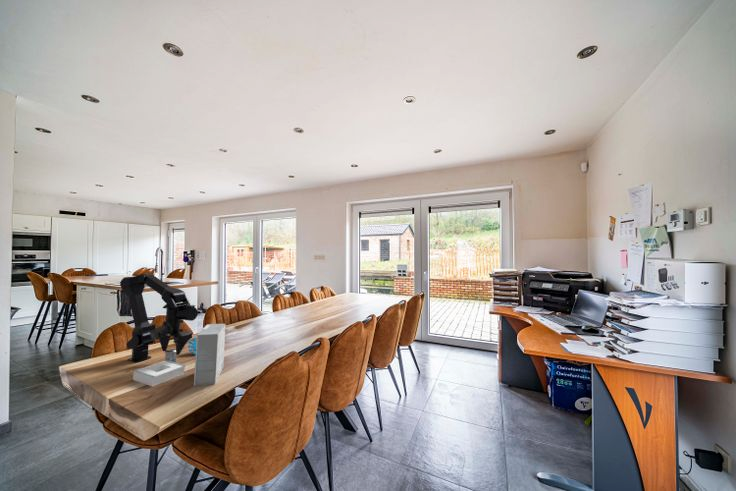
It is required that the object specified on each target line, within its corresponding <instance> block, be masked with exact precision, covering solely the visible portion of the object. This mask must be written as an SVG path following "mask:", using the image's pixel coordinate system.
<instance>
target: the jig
mask: <svg viewBox="0 0 736 491" xmlns="http://www.w3.org/2000/svg"><path fill="white" fill-rule="evenodd" d="M185 366H186V365H185V364H182V363H178V362H177V361H176V362H172V361H168V360H163V361H161V362H157V363H154V364H150V365H148V366H145V367H141V368H138V369H135V370H133V375H132V377H133V378H132V380H133V381H135V382H138V383H141V384H143V385H147V386H149V387H155V386H157V385H160V384H163V383H165V382H167V381H170V380H173V379H176V378H178V377H180V376H183V375H185V369H186V368H185Z"/></svg>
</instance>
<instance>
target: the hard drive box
mask: <svg viewBox="0 0 736 491" xmlns="http://www.w3.org/2000/svg"><path fill="white" fill-rule="evenodd" d="M225 340H226V323H209V324H206V325H205V326H204V327H203V328H202V329H201V330H200V331H199V332H198V333H197V335H196V341H197V343H196V354H195V362H194V363H195V364H194V365H195V366H194V375H193V377H194V378H193V386H194V387H198V386H199V387H200V386H208V385H209V386H210V385H215V384H216V383H217V381H218V379H219V376H221V373H222V372H223V369H224V366H225V365H224V362H225V342H226V341H225Z"/></svg>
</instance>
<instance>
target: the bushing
mask: <svg viewBox="0 0 736 491" xmlns="http://www.w3.org/2000/svg"><path fill="white" fill-rule="evenodd" d="M164 354H165V357H164V358H165V360H168V361H172V362H176V363H177V355H176V348H169V349H166V351H164ZM165 360H164V361H165Z"/></svg>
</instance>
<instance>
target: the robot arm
mask: <svg viewBox="0 0 736 491" xmlns="http://www.w3.org/2000/svg"><path fill="white" fill-rule="evenodd" d="M119 285H120V288H121V291H122V293H124V294H125V295H126V296H127V297H128V302H129V304H130V305H129V307H130V309H131V314H132V319H133V324H134V328H133V330H132V332H131V337H132V338H130V339H129V340H128V341H127V342H126V348H127V349H131V357H130V358H127V361H129V362H132V363H139V362H142V361H146V360H148V359H152V356H150V355H149V348H150V345H152V344H153V345H154V343H155V340H158V341H159V344H160V346H161V350H162V352H165V351H166V350H168V346H169V343H170V340H171V337H173V342H172V343H174V344H175V349H176V356H178V355H180V354H181V353H182V350H183V349H184V348H185V345H186V344H187V342H189V341H191V340H193V333H192V332H190V331H187V330H186V331H183V328H181V325H182V324H181V323H184V321H190V322H191V321H194V320H195V319H197V317H198V316H199V311H198V309H197V308H196V304H191V302H190V300H189V299H188V297H187V295H186V292H185V291H184V290H182V289H179V288H176V287H172V286H170V285H169V284H167V283H165V282H164V281H162V280H161V279H160V278H158V277H156V276H155V274H154V273H149V272H148V273H141V274H138V275H134V276H126V277H123V278H122V279H121V280H120V282H119ZM145 286H147V287H149V288H150V289H152V290H153V291H155V292H156V293H158V294H159V295H160V297H161V299H162V301H163V302H164V303H166V304H165V305H163V306H162V309H166V311H165V313H166V314H165V320H164V321H163V322H162V324H161V325H160V326H158V327H156V325H155V324H152V323H150V322H149V318H148V313H147V309H146V306H145V305H146V304H145V300H144V297H143V296H144V295H143V292H144V290H145V288H146V287H145Z"/></svg>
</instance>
